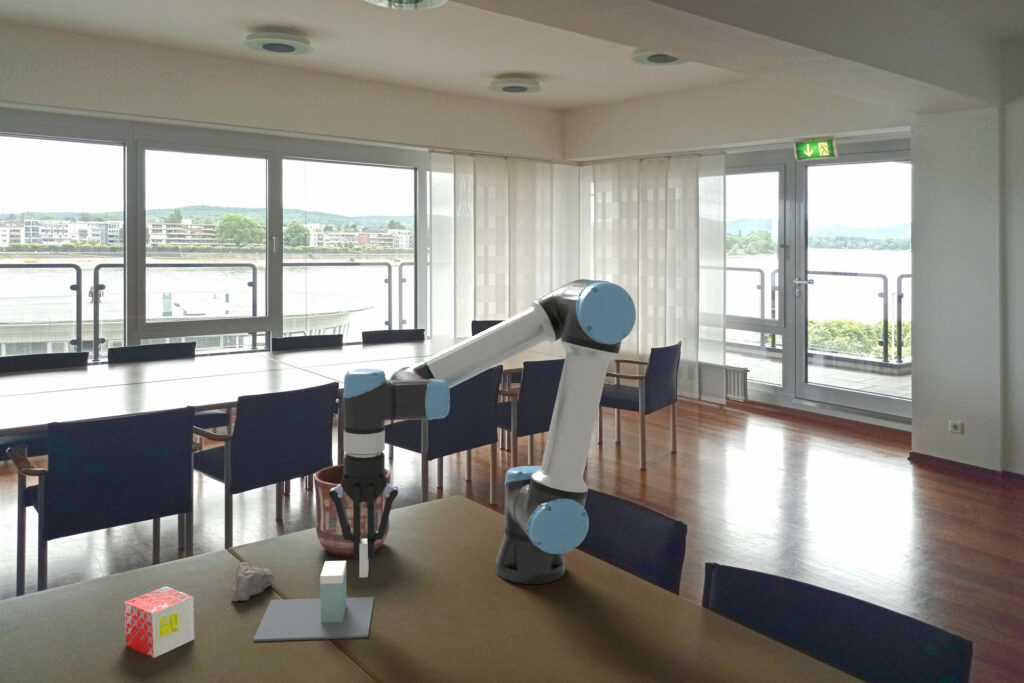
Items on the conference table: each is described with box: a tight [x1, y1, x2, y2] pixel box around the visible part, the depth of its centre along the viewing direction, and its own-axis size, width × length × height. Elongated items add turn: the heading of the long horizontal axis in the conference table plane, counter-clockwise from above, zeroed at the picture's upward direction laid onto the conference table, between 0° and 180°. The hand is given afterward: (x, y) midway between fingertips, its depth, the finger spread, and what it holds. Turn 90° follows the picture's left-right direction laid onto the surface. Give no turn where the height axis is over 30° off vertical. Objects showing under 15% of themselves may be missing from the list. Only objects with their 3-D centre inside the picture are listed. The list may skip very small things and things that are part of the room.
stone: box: [230, 561, 275, 602], centre depth 159 cm, size 10×8×6 cm
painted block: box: [319, 560, 347, 623], centre depth 149 cm, size 4×7×9 cm, turn 6°
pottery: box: [313, 463, 391, 558], centre depth 183 cm, size 18×18×18 cm
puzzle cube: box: [124, 586, 195, 659], centre depth 138 cm, size 8×8×8 cm
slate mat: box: [252, 596, 375, 642], centre depth 148 cm, size 20×16×1 cm
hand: (364, 574), depth 149 cm, fingers closed
